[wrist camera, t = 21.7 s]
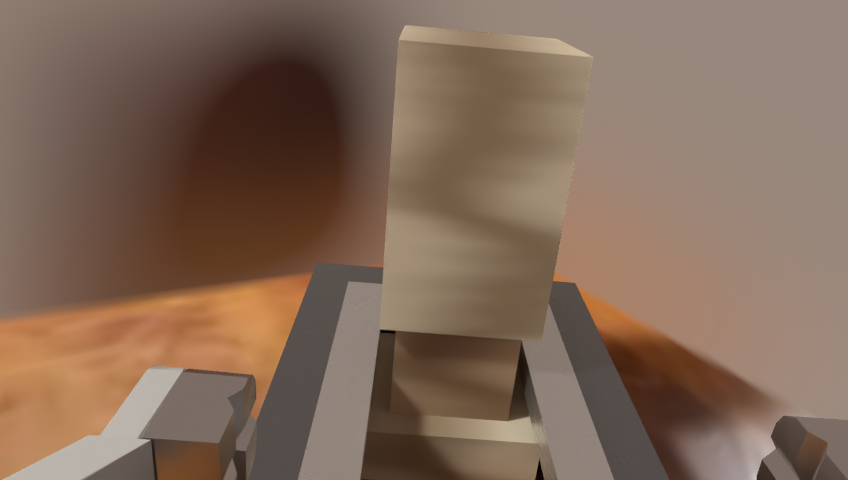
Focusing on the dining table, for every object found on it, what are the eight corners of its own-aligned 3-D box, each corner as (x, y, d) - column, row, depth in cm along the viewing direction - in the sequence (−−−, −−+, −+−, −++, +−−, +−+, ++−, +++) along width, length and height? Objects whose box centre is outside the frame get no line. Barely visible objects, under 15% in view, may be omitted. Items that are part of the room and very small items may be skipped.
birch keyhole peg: (510, 383, 27) (568, 38, 21) (532, 491, 21) (618, 61, 16) (369, 372, 26) (390, 22, 21) (353, 478, 21) (377, 40, 15)
